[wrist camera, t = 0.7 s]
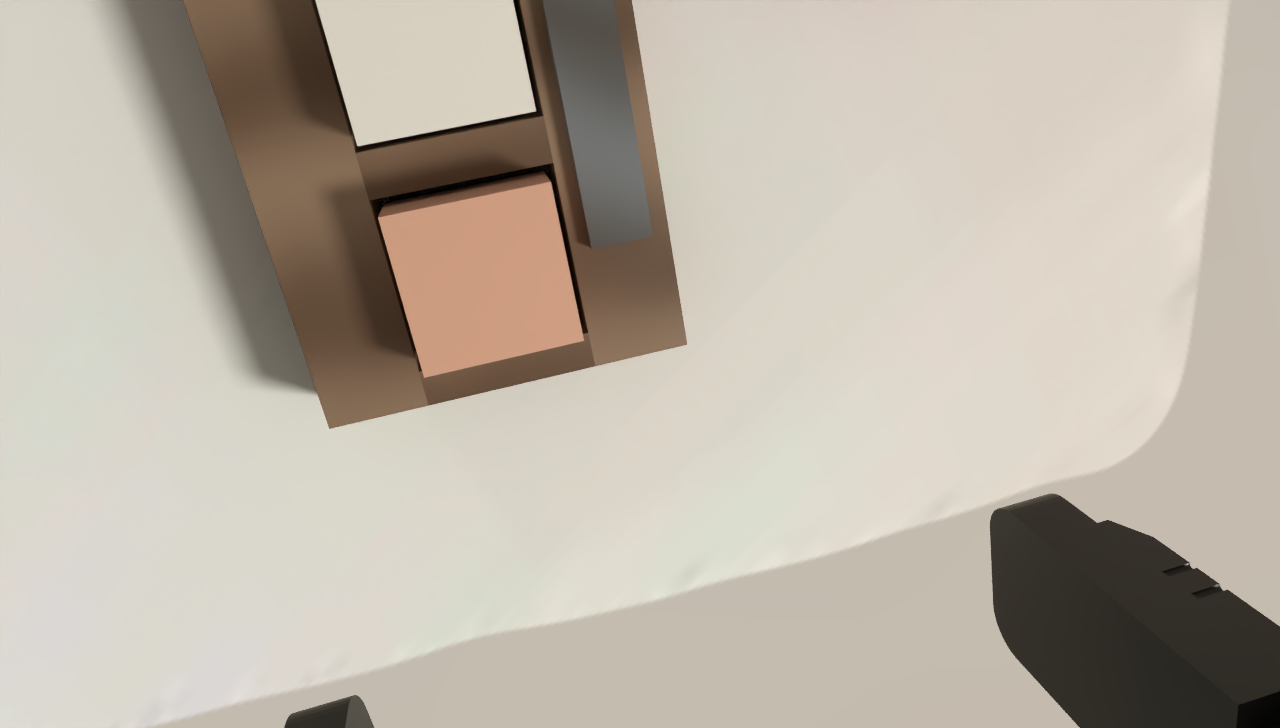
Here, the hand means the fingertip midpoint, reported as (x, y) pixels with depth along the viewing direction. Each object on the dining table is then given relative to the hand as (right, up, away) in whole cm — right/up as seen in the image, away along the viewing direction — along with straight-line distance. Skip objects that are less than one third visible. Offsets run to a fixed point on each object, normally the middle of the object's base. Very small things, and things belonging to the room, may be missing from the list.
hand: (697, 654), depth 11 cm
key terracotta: (-6, +7, +17) cm, 19 cm away
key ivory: (-7, +13, +15) cm, 21 cm away
